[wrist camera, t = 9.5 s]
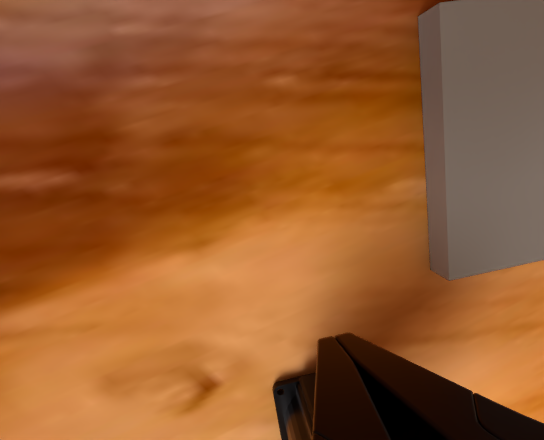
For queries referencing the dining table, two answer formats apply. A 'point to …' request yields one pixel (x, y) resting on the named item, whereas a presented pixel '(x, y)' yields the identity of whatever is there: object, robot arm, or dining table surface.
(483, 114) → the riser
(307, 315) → the dining table surface
